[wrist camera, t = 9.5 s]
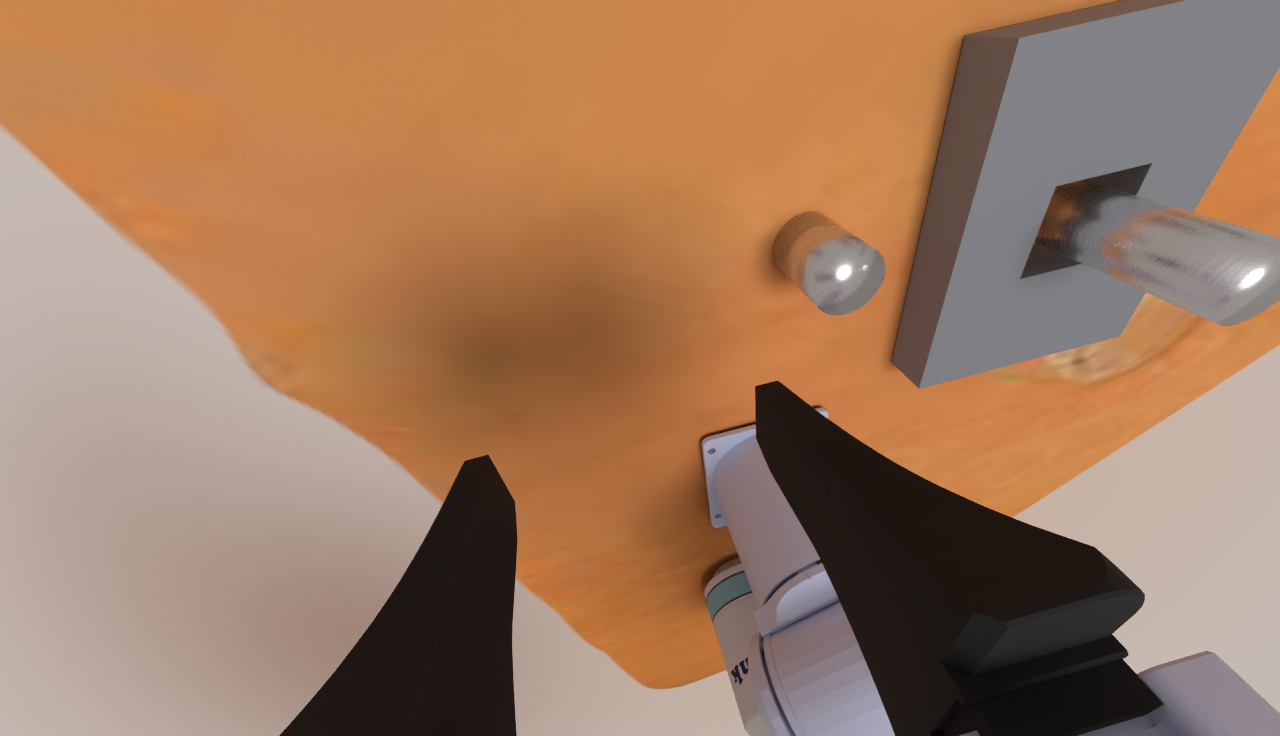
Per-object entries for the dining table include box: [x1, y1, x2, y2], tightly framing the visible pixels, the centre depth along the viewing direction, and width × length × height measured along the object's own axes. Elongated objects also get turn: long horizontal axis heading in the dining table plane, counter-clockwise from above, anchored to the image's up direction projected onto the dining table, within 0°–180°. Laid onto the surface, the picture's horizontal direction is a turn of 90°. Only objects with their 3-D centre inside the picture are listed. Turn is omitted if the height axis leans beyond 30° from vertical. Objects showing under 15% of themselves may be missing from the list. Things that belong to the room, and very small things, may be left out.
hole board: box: [892, 0, 1280, 389], centre depth 22 cm, size 16×12×2 cm
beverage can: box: [704, 558, 770, 736], centre depth 35 cm, size 7×7×12 cm
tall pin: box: [1035, 180, 1280, 326], centre depth 19 cm, size 3×3×9 cm
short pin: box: [773, 212, 885, 315], centre depth 20 cm, size 3×3×4 cm
